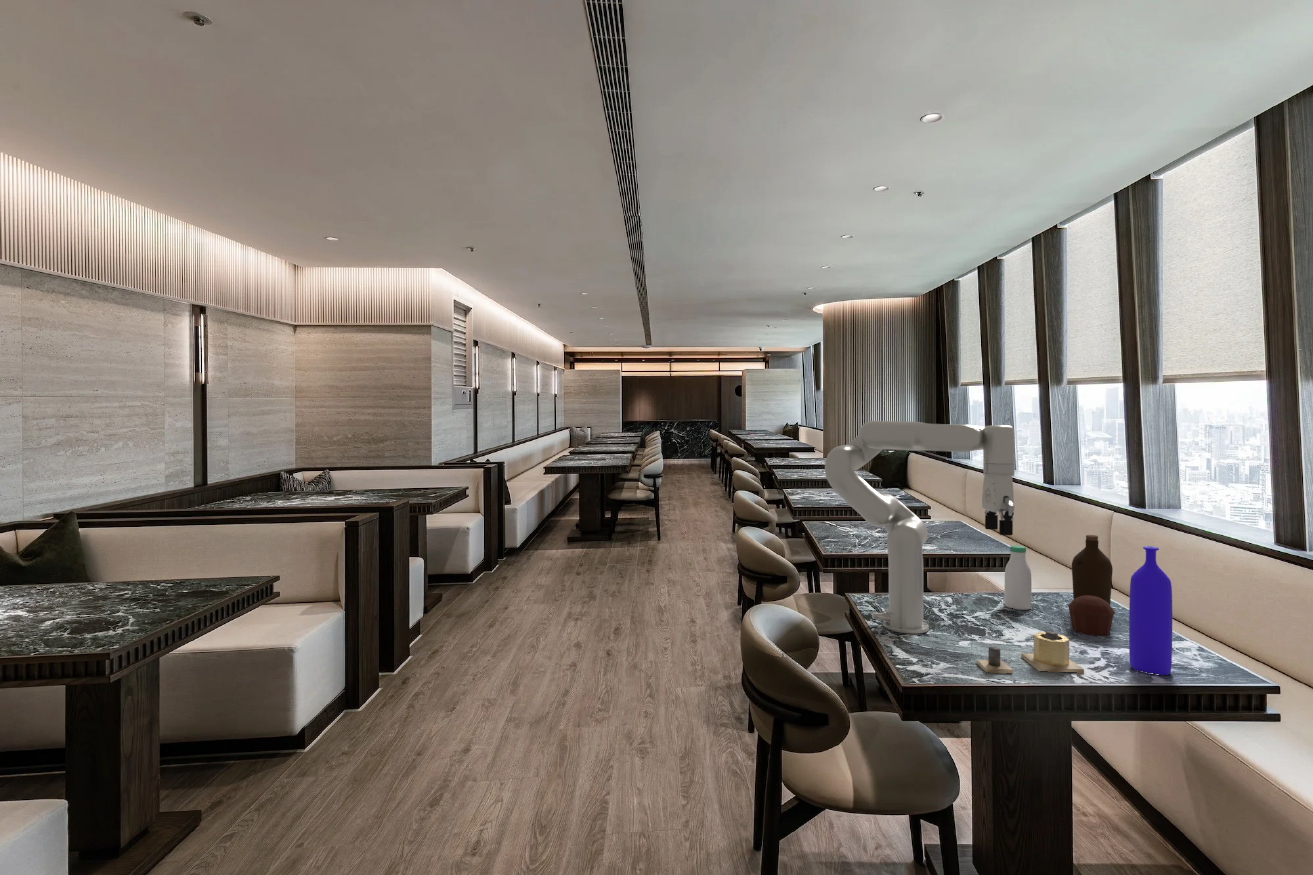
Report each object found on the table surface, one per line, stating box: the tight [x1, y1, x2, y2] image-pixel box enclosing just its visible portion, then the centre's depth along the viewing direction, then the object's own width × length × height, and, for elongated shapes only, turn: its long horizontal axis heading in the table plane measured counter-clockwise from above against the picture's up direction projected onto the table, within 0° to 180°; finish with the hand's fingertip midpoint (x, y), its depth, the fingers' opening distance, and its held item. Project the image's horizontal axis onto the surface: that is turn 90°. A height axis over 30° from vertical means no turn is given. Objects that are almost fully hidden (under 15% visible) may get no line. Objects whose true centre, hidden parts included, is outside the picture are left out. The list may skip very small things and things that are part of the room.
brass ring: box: [1033, 631, 1070, 666], centre depth 160 cm, size 7×7×6 cm
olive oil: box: [1071, 534, 1114, 606], centre depth 201 cm, size 11×11×25 cm
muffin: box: [1067, 595, 1116, 637], centre depth 185 cm, size 12×11×10 cm
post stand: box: [1020, 630, 1085, 674], centre depth 159 cm, size 10×10×8 cm
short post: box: [976, 646, 1014, 674], centre depth 157 cm, size 6×6×5 cm
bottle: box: [1128, 545, 1173, 676], centre depth 156 cm, size 8×8×30 cm
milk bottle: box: [1004, 545, 1033, 611], centre depth 210 cm, size 8×8×20 cm
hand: (998, 532), depth 177 cm, fingers open, 9 cm apart
